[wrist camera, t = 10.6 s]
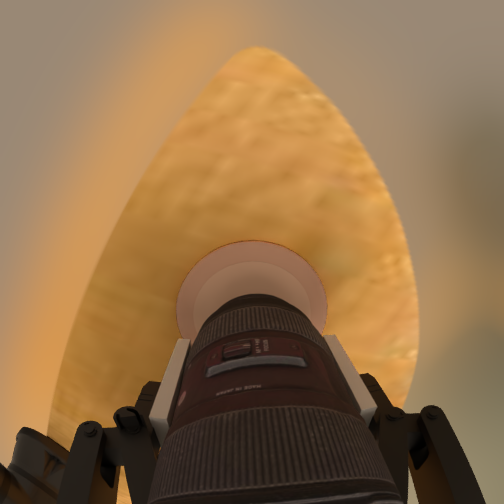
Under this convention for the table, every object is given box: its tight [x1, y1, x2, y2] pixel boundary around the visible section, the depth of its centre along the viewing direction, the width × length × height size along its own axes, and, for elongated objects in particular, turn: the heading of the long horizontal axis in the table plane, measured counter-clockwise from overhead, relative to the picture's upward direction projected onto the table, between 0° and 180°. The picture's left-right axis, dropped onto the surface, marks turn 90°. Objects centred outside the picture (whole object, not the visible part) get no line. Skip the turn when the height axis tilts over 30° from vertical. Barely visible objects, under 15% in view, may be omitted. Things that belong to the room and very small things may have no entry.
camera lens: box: [147, 293, 404, 504], centre depth 10 cm, size 8×8×15 cm
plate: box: [176, 241, 327, 347], centre depth 21 cm, size 12×12×1 cm
